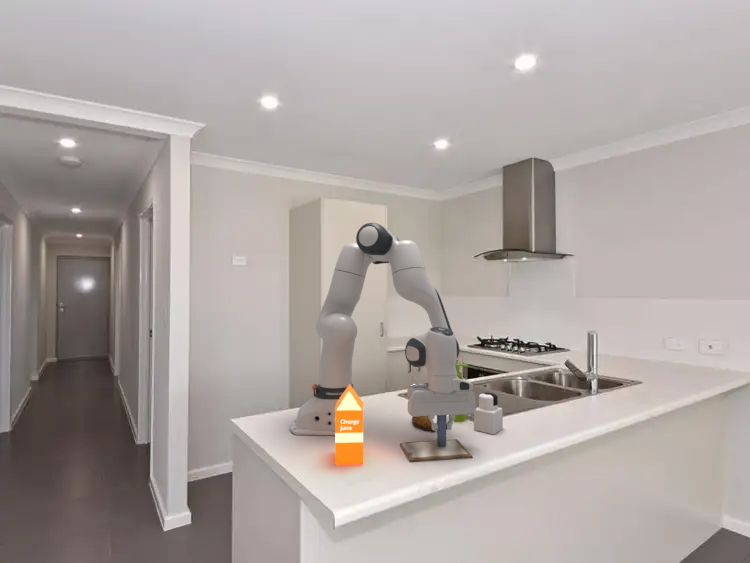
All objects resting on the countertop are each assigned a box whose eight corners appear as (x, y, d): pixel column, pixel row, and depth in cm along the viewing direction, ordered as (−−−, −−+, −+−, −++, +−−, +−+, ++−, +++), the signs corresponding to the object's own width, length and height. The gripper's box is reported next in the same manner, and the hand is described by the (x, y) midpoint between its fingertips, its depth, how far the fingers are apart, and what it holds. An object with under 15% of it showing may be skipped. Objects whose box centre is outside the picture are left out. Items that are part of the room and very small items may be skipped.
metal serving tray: (409, 462, 119) (409, 456, 119) (399, 444, 132) (399, 439, 132) (472, 457, 122) (472, 452, 122) (456, 441, 135) (456, 436, 135)
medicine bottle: (483, 424, 150) (482, 390, 150) (502, 429, 146) (502, 393, 146) (473, 430, 145) (473, 394, 145) (493, 435, 140) (493, 397, 140)
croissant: (405, 422, 154) (404, 408, 154) (421, 420, 157) (421, 406, 157) (424, 434, 142) (424, 419, 142) (442, 431, 144) (442, 416, 144)
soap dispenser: (468, 422, 153) (468, 365, 153) (448, 421, 154) (448, 364, 154) (468, 417, 158) (468, 362, 159) (449, 416, 160) (449, 362, 160)
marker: (438, 447, 127) (438, 406, 127) (435, 443, 130) (435, 403, 130) (447, 446, 128) (448, 405, 128) (444, 443, 131) (444, 403, 131)
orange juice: (363, 451, 127) (363, 383, 127) (363, 464, 118) (363, 390, 118) (336, 452, 126) (336, 383, 126) (334, 464, 118) (334, 390, 118)
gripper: (409, 386, 125) (409, 434, 124) (478, 384, 128) (478, 431, 127) (405, 381, 131) (405, 427, 131) (470, 379, 134) (470, 424, 134)
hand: (441, 429), depth 129 cm, fingers closed on marker, 3 cm apart
